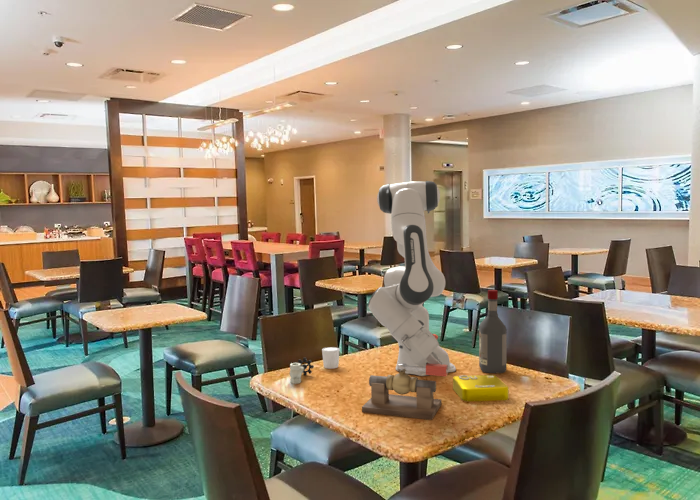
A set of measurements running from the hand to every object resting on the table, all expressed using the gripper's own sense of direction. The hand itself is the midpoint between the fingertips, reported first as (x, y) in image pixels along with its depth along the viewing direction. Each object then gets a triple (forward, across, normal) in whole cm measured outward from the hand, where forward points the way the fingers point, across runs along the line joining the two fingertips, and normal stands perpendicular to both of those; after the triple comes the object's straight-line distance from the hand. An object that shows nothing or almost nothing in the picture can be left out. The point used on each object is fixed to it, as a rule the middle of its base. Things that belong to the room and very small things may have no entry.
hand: (440, 366), depth 168 cm
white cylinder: (-26, +32, +44) cm, 60 cm away
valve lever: (-2, -5, +4) cm, 7 cm away
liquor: (+17, +46, +2) cm, 49 cm away
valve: (-29, +13, +47) cm, 56 cm away
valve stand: (+1, -5, +16) cm, 17 cm away
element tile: (+16, +16, +2) cm, 23 cm away
